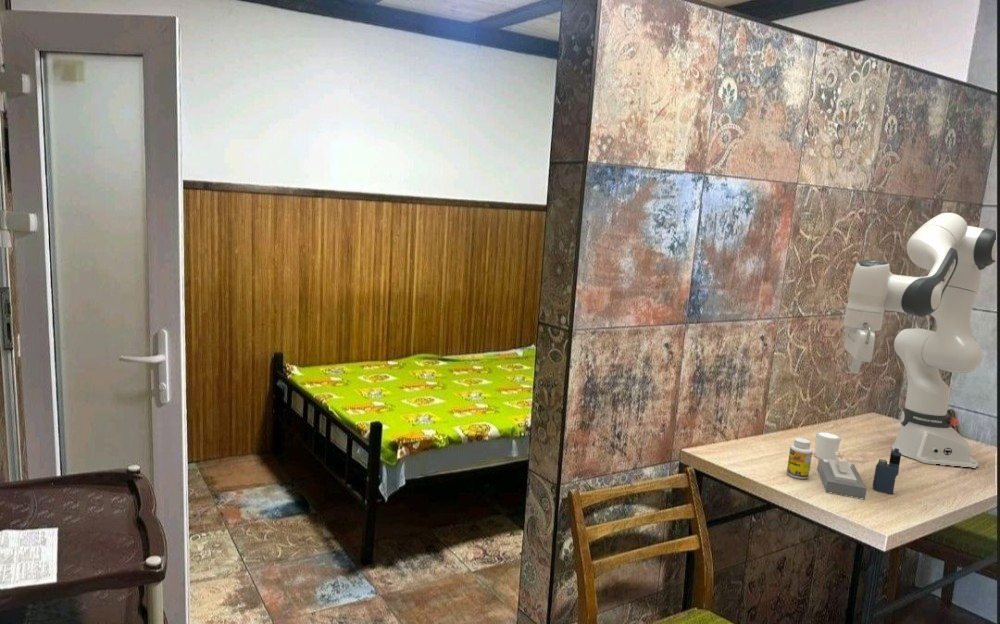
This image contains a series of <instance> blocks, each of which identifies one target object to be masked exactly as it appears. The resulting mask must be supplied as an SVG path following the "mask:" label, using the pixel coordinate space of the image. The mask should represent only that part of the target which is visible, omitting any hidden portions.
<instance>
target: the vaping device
mask: <svg viewBox="0 0 1000 624" xmlns="http://www.w3.org/2000/svg"><path fill="white" fill-rule="evenodd" d="M889 455H890V456H889V462H888V461H887V460H886V459H881V458H880V459H878V462H877V464H876V465H875V468H874V475H873V481H872V487H873V489H872V490H874V491H876V492H881V493H885V494H888V495H893V494H894V489H895V483H896V478H897V476H898V475H899V472H900V471H899V470H900V463H901V458H902V454H901V453H900V452H899V449H896V448H895V449H894V450H891V451H890V454H889Z"/></svg>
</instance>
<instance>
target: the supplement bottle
mask: <svg viewBox="0 0 1000 624" xmlns="http://www.w3.org/2000/svg"><path fill="white" fill-rule="evenodd" d="M812 457H813V449H812V448H811V441H810V440H809V439H806V438H803V437H795V438H794V442H793V443H792V444H791V445H790V447H789V453H788V461H787V468H786V474H787V475H788V476H790V477H792V478H795V479H799V480H800V479H801V480H806V479H808V478H809V476H810V472H811V471H810V470H811V463H812Z"/></svg>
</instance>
